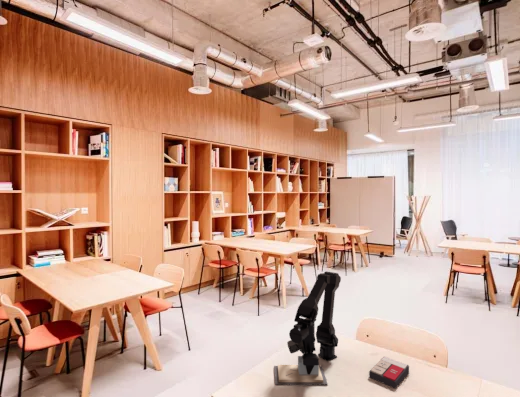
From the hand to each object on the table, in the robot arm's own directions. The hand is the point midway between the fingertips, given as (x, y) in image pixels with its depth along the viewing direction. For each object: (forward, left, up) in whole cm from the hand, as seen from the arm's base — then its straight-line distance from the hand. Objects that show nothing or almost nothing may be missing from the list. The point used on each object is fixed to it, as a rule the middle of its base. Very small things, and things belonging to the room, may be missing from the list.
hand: (307, 370), depth 133 cm
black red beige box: (-30, +18, -3) cm, 35 cm away
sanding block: (0, 0, -1) cm, 1 cm away
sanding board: (+3, -2, -2) cm, 4 cm away
